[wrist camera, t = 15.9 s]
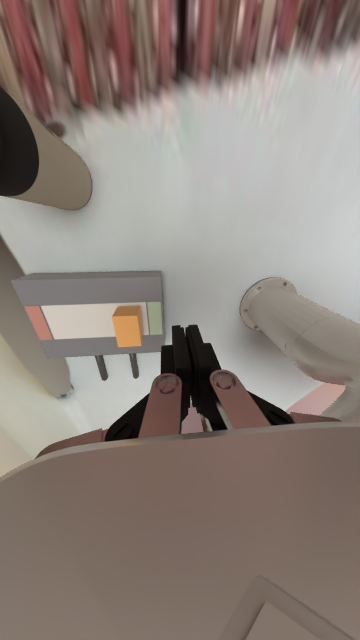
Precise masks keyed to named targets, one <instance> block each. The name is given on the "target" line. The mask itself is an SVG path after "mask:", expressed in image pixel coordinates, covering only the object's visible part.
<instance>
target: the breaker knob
mask: <svg viewBox="0 0 360 640" xmlns="http://www.w3.org/2000/svg"><path fill="white" fill-rule="evenodd" d="M112 320H113V325H114V329H115V334H116V339H117V344H118V347H133V346H142V340H143V335H144V332H143V324H142V315H141V307H140V306H121V307H117V309H116V310H115V312H114V314H113V315H112Z"/></svg>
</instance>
